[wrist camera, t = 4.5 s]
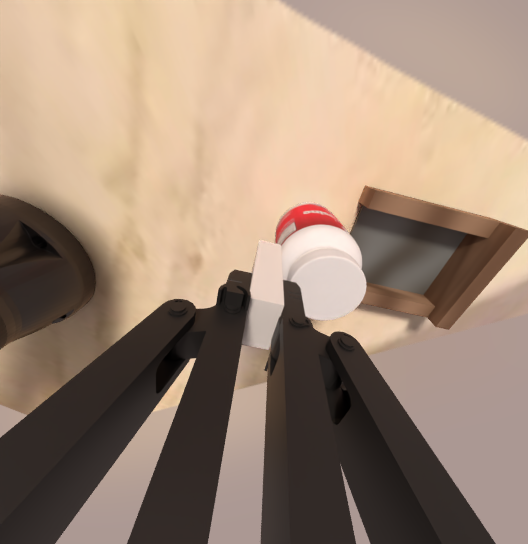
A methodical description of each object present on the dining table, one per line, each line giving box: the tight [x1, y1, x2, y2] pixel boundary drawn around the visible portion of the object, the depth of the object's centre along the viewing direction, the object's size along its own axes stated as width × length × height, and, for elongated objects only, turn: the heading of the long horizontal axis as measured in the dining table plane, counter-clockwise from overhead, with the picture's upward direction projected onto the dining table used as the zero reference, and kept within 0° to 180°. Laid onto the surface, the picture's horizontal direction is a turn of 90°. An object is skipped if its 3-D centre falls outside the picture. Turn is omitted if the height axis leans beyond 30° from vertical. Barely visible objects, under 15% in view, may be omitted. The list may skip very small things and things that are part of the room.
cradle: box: [350, 186, 528, 330], centre depth 22 cm, size 13×11×4 cm
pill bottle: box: [276, 202, 366, 320], centre depth 18 cm, size 6×6×11 cm
